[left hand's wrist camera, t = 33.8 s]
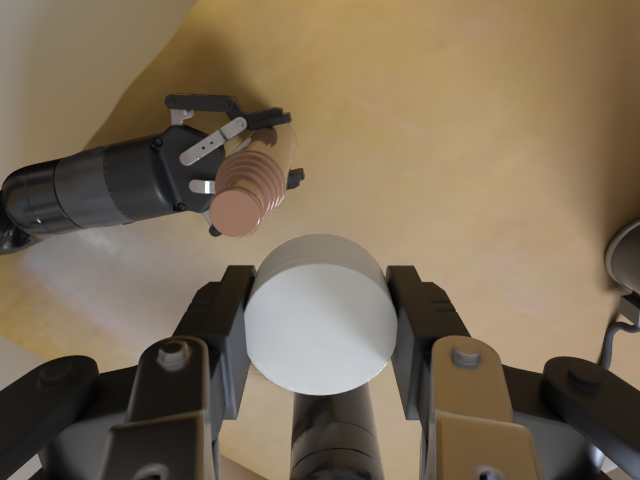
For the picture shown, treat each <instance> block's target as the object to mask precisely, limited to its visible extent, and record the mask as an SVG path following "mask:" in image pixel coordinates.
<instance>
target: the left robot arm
mask: <svg viewBox="0 0 640 480" xmlns="http://www.w3.org/2000/svg"><path fill="white" fill-rule="evenodd" d="M605 265H606V269H607V272H608V274H609V275H610V276H611V278H612V279H614V280H615V281H616V282H617V288H618V289H619V290H620V291H622V292H623V293H624V294H626V295H624V296H621V306H620V313H621V314H622V315H624V316H625V317H626V318H627V319H629V320H630V321H631V322H632V323H634V325H629V324H627V323H624V322H615V323H613V324H612V325H611V326H610V327H609V328H608V329H607V331H606V334H605V338H604V344H603V358H602V363H601V366H600V365H598V364H595V363H593V362H590V361H587V360H584V359H580V358H575V357H566V356H563V357H555V358H552V359H550V360H548V361H547V362H546V364H545V366H544V370H543V374H541V373H536V372H531V371H526V370H522V369H517V368H513V367H509V366H506V365H503V364H501V360H500V357H499V355H498V354H497V352H496V351H495V350H494V349H493V348H492V347H490V346H489V345H487V344H486V343H484V342H482V341H480V340H477V339H474V338H472V337H471V336H470V334H469V332H468V330H467V329H466V327H465V325H464V324H463V322H462V320H461V318H460V317H459V315H458V313H457V312H456V310H455V308H454V306H453V304H452V303H451V301H450V299H449V298H448V296H447V294H446V292H445V291H444V290H443V289H441V288H440V287H439V286H437V285H436V284H434V283H433V282H422V281H421V279H420V277H419V275H418V273H417V271H416V269H415V267H414V266H388V267H387V270H386V282H387V285H388V288H389V292H390V295H391V298H392V301H393V304H394V307H395V310H396V314H397V318H398V324H397V337H396V346H395V349H394V352H393V354H392V356H391V361H392V365H393V369H394V373H395V377H396V381H397V385H398V389H399V393H400V397H401V401H402V405H403V409H404V413H405V417H406V420H420V422H421V426H422V435H421V444H420V472H419V480H612V479H611V478H609V477H608V476H607V475H606V474H605V473H604V472H603V471H602V470H601V468H602V465H603V462H604V459H605V456H607V457H608V458H609V459H610V460H611V461H613V462H614V463H615V464H616V465H617V466H618V467H620V468H621V469H622V470H623V471H624V472H625V473H627V474H628V475H629V476H630V477H631V478H632V479H634V480H640V391H639V390H637V389H636V388H634V387H633V386H631V385H630V384H628V383H627V382H625V381H624V380H622V379H621V378H619V377H618V376H616V375H615V374H613V373H612V372H610V371H609V370H608V369H609V367H610V363H611V357H612V340H613V336H614V334H615V333H616V332H617V331H618V330H620V329H622V330H624V331H626V332H629V333H637V332H640V218H639V219H637V220H635V221H633V222H631V223H630V224H628V225H627V226H625V227H624V228H623V229H622V230H620V231H619V232H618V233H617V235H616V236H615V237H614V238H613V240H612V241H611V243H610V245H609V247H608V249H607V252H606V257H605ZM255 276H256V270H255V266H254V265H229V266H228V267H227V269H226V272H225V274H224V276H223V278H222V280H221V282H209V283H208V284H206V285H205V286H203V287H202V288H201V289H199V290H198V291H197V293H196V294H195V296H194V298H193V300H192V303H190V305H189V307H188V309H187V312H185V314H184V316H183V317H182V319H181V321H180V323H179V324H178V326H177V328H176V330H175V332H174V333H173V335H172V337H169V338H166V339H163V340H160V341H158V342H156V343H154V344H153V345H151V346H150V347H148V348H147V349H146V350H145V351H144V352H143V354H142V355H141V357H140V360H139V364H138V365H136V366H133V367H129V368H124V369H119V370H115V371H110V372H105V373H100V374H99V371H98V367H97V363H96V362H95V360H93V359H92V358H90V357H87V356H80V355H74V356H66V357H61V358H57V359H54V360H51V361H49V362H46V363H44V364H42V365H40V366H38V367H36V368H35V369H33V370H31V371H30V372H28V373H27V374H25V375H24V376H22V377H21V378H19V379H18V380H16V381H15V382H13V383H12V384H10V385H9V386H7V387H6V388H4V389H3V390H1V391H0V480H7V479H8V478H9V477H10V476H11V475H12V474H13V473H15V472H16V471H17V470H18V469H19V468H20V467H22V466H23V465H24V464H25V463H26V462H27V461H29V460H30V459H31V458H32V457H33V456H34V455H35V454H37V453H38V456H39V459H40V462H41V464H42V468H41V469H39V470H38V471H37V472H36V473H35V474H34V475H33V476H32V477H31V478H29V479H28V480H221V473H220V444H219V432H220V428H221V425H222V421H223V420H237V416H238V412H239V408H240V403H241V399H242V395H243V391H244V387H245V383H246V378H247V374H248V370H249V366H250V362H251V360H250V358H249V356H248V354H247V345H246V333H245V321H244V310H245V307H246V304H247V301H248V298H249V294H250V291H251V288H252V285H253V282H254V279H255Z"/></svg>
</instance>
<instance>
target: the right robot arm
mask: <svg viewBox="0 0 640 480" xmlns="http://www.w3.org/2000/svg"><path fill="white" fill-rule="evenodd" d="M165 104H166V106H167V107H168V108H170V113H171V124H172V126H170V127H168V128H167V129H166V130H165V131H164V132H163V133H159V134H155V135H151V136H146V137H142V138H137V139H133V140H128V141H124V142H119V143H115V144H110V145H106V146H99V147H96V148H92V149H88V150H85V151H82V152H79V153H77V154H74V155H72V156H69V157H65V158H60V159H56V160H52V161H47V162H43V163H38V164H34V165H29V166H26V167H23V168H21V169H18V170H16V171H14V172H13V173H11V174H10V175H9V176H8V177H7V178H6V180H5V181H4V183H3V185H2V189H1V191H0V255H6V254H11V253H15V252H18V251H21V250H24V249H26V248H28V247H30V246H33V245H35V244H37V243H39V242H42V241H44V240H45V239H47V238H49V237H51V236H52V235H59V234H64V233H69V232H73V231H78V230H83V229H88V228H95V227H108V226H116V225H121V224H123V225H126V224H130V223H134V222H135V221H140V220H145V219H150V218H154V217H159V216H164V215H169V214H174V213H178V212H183V211H193V212H196V213H202V214H203V216H204V218H205V219H206V221H207V222H208V224H209V225H210V228H209V233H210V234H211V235H212V236H214V237H217V236H220V235H222V233H221V232H219V231H218V230H217V229H216V228H215V227H214V225H213V224H212V222H211V219H210V215H209V205H210V201H211V199H212V198H213V196H214V194H215V178H216V175H217V172H218V169H219V167H220V165H221V163H222V162H223V161H224V160H225V149H224V146H223V143H225V142H226V141H228V140H229V139H231V138H232V137H234V136H236V135H237V134H239V133H240V132H242V131H243V130H246V129H250V131H253V130H258V129H261V128H267V127H271V126H276V125H280V124H285V123H289V122H291V121H292V119H291V115H290V112H288V113H283V108H279V107H275V108H271V109H266V110H262V111H257V112H253V113H248V112H246V111H244V110H243V108H242V107H241V105H240V104H239V101H238V99H237V98H236V97H234V96H224V95H205V94H186V93H177V94H171V95H168V96H167V97H166V98H165ZM196 111H216V112H226V114H227V115H228V117H229V118H230V119H231V122H229V123H228V124H226V125H225V126H223V127H222V128H220V129H219V130H217V131H216V132H214V133H212V134H211V135H208V134H206V133H204V132H201V131H199V130H197V129H194V128H192V127H190V126H187V125H185V120H186V119H187V118H191V117H193V116H195V114H196ZM304 177H305V175H304V171H303V168H299V169H294V170H290V174H289V178H288V182H287V187H286V190H288V189H293V188H296V187H297V186H299V184H300V181H301V180H303V179H304ZM289 480H385V477H384V471H383V466H382V460H381V454H380V448H379V443H378V437H377V432H376V426H375V420H374V414H373V408H372V402H371V397H370V391H369V385H368V381H367V382H366V383H364V384H363V385H361V386H359V387H356V388H354V389H352V390H349V391H346V392H342V393H337V394H330V395H309V394H303V393H298V392H294V409H293V425H292V442H291V461H290V478H289Z"/></svg>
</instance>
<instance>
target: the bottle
mask: <svg viewBox="0 0 640 480" xmlns="http://www.w3.org/2000/svg"><path fill="white" fill-rule="evenodd" d="M295 149H296V136H295V133H294V131H293V129H292V128H291V127H290V126H289V125H288V124H287V123H285V124H280V125H276V126H271V127H267V128H261V129H258V130H253V131H252V132H251V133H250V134H249V135H248V136H247V137H246V138H245V139H244V140H243V142H242V143H241V144H240V145H239V146H238V147H237V148H236V149H235V150H234V151H233V152H232V153H231V154H230V155H229V156H228V157H227V158H226V159H225V160H224V161H223V162H222V163H221V165H220V167H219V169H218V172H217V175H216V178H215V194H214V196H213V198H212V199H211V201H210V205H209V215H210V219H211V222H212V224H213V225H214V227H215V228H216V229H217V230H218V231H219V232H221V233H222V234H224V235H226V236H229V237H234V238H241V237H246V236H248V235H250V234H252V233H254V232H255V231H256V230H257V229H258V227H259V226H260V224H261V221H262V219H263V218H264V217H266V216H268V215H270V214H271V213H273V212H274V211H275V210H276V208H277V207H278V206H279V205H280V203H281V202H282V200H283V198H284V195H285V191H286V187H287V182H288V178H289V174H290V170H291V166H292V161H293V157H294V153H295Z"/></svg>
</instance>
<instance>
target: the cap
mask: <svg viewBox="0 0 640 480" xmlns="http://www.w3.org/2000/svg"><path fill="white" fill-rule="evenodd" d="M244 321H245V333H246V345H247V354H248V356H249V358H250V360H251V361H252V363H253V364H254V365H255V367H256V368H257V369H258V370H259V371H260V372H261V373H262V374H263V375H264V376H265V377H267V378H268V379H269V380H271V381H272V382H274V383H276V384H277V385H279V386H281V387H283V388H286V389H288V390H291V391H294V392H298V393H303V394H309V395H330V394H337V393H342V392H346V391H349V390H352V389H354V388H356V387H359V386H361V385H363V384H364V383H366V382H367V381H369V380H371V379H372V378H373V377H374V376H376V375H377V374H378V373H379V372H380V371H381V370H382V369H383V368H384V366H385V365H386V364H387V362H388V361H389V359H390V358H391V356H392V354H393V352H394V349H395V346H396V337H397V324H398V318H397V314H396V310H395V307H394V304H393V301H392V298H391V295H390V292H389V288H388V285H387V282H386V279H385V276H384V274H383V271H382V269H381V267H380V266H379V264H378V262H377V261H376V260H375V259H374V258H373V256H372V255H371V254H370V253H369V252H367V251H366V250H365V249H364V248H362V247H361V246H359V245H358V244H356V243H354V242H352V241H350V240H348V239H345V238H342V237H338V236H334V235H326V234H313V235H305V236H302V237H298V238H295V239H292V240H290V241H287V242H286V243H284V244H282V245H280V246H279V247H277V248H276V249H275V250H273V251H272V252H271V253H270V254H269V255H268V256H267V257H266V258H265V260H264V261H263V262H262V264H261V265H260V267H259V269H258V271H257V273H256V276H255V279H254V282H253V285H252V288H251V291H250V294H249V298H248V301H247V304H246V307H245V310H244Z"/></svg>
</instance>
